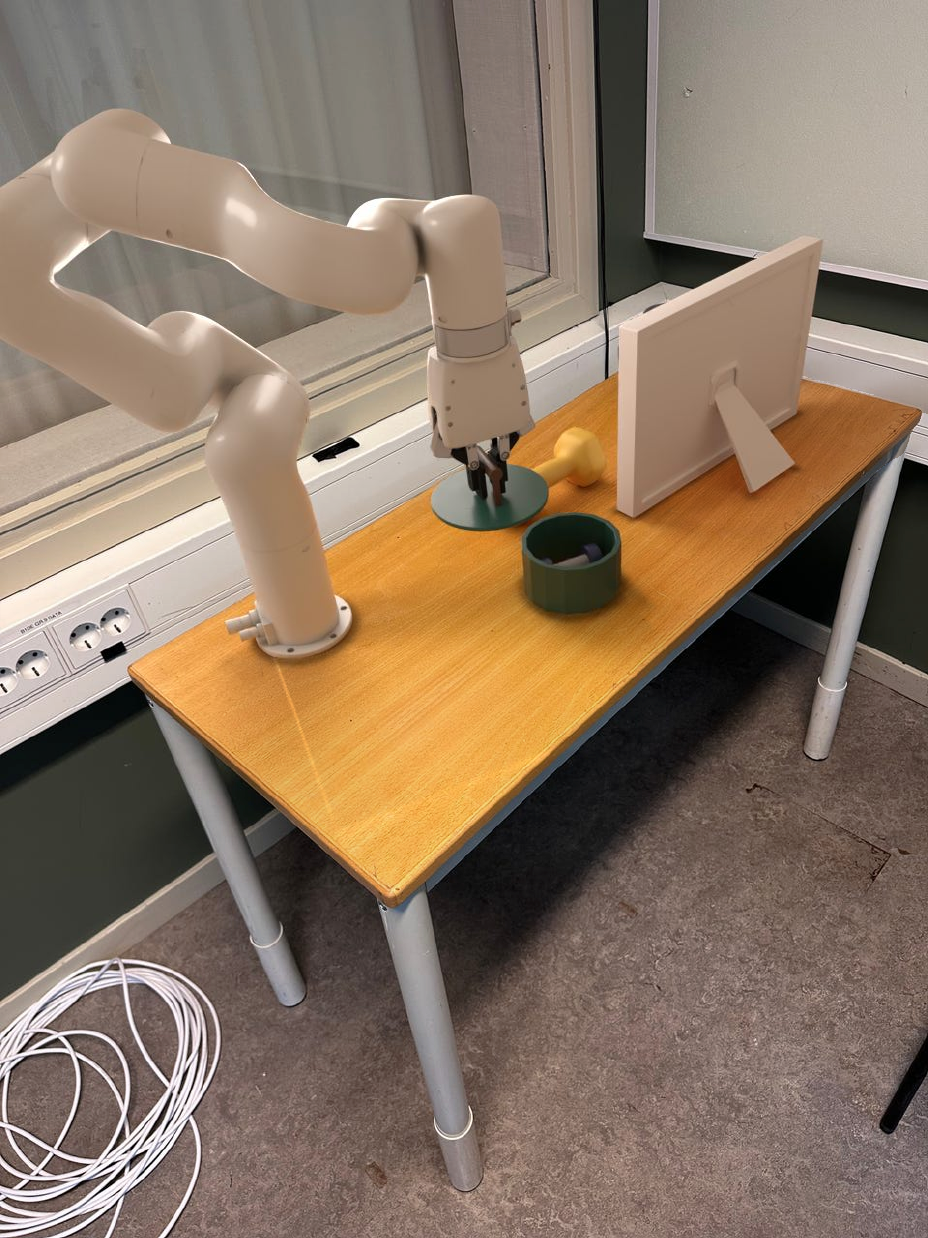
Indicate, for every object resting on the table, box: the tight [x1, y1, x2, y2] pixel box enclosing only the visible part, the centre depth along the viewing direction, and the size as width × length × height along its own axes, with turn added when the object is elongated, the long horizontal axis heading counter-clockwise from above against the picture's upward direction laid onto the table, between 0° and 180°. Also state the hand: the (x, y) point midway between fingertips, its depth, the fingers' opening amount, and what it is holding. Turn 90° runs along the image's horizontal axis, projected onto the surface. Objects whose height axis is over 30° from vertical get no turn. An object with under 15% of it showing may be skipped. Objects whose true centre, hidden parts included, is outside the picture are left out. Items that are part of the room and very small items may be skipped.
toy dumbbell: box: [541, 543, 603, 567], centre depth 115 cm, size 8×4×4 cm, turn 112°
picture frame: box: [616, 235, 824, 519], centre depth 125 cm, size 40×12×28 cm, turn 131°
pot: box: [520, 511, 623, 615], centre depth 114 cm, size 12×12×8 cm
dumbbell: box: [513, 426, 608, 528], centre depth 130 cm, size 19×9×8 cm, turn 129°
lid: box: [430, 445, 550, 533], centre depth 99 cm, size 13×13×6 cm
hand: (488, 489), depth 100 cm, fingers closed on lid, 1 cm apart
